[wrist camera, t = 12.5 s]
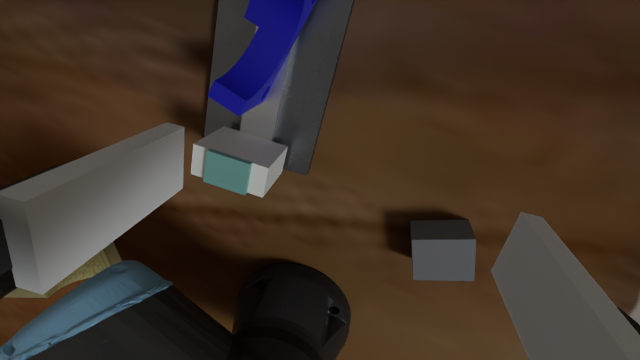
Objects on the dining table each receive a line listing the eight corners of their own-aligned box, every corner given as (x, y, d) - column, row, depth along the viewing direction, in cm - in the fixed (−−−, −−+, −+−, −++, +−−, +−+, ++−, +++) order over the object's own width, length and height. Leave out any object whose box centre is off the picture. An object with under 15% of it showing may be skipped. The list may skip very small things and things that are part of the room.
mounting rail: (308, 172, 38) (304, 179, 36) (207, 139, 39) (198, 145, 37) (387, -123, 27) (387, -134, 25) (241, -160, 27) (231, -173, 26)
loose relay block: (466, 257, 39) (474, 281, 35) (411, 257, 40) (413, 280, 36) (468, 218, 37) (476, 239, 33) (410, 219, 38) (411, 239, 35)
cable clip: (281, -53, 28) (254, -71, 23) (327, -21, 28) (311, -32, 23) (224, 76, 33) (191, 85, 28) (263, 101, 34) (238, 116, 28)
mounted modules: (281, 172, 36) (260, 200, 31) (220, 152, 37) (187, 176, 31) (353, -143, 25) (341, -194, 19) (263, -166, 25) (223, -223, 20)
